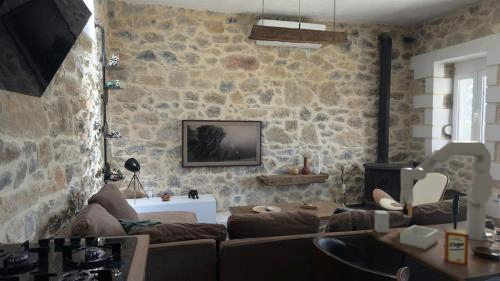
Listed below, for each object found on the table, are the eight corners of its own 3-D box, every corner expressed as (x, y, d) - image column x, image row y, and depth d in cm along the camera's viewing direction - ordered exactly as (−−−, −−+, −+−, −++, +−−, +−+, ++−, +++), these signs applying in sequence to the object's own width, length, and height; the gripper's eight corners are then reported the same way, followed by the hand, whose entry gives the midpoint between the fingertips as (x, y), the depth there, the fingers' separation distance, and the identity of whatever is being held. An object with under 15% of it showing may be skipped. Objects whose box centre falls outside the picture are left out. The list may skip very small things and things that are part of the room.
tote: (414, 236, 216) (414, 225, 216) (438, 241, 206) (438, 230, 205) (400, 243, 202) (400, 231, 202) (425, 249, 192) (425, 237, 192)
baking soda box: (465, 260, 177) (465, 230, 176) (467, 265, 171) (468, 233, 170) (444, 257, 180) (444, 228, 180) (445, 262, 174) (446, 231, 174)
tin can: (412, 216, 228) (412, 201, 227) (409, 217, 224) (409, 202, 224) (405, 215, 231) (405, 200, 231) (402, 216, 228) (401, 201, 228)
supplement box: (385, 229, 230) (386, 210, 229) (389, 232, 222) (389, 213, 222) (374, 229, 231) (374, 210, 230) (377, 232, 223) (377, 213, 223)
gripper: (406, 184, 236) (407, 210, 236) (395, 187, 224) (396, 215, 225) (418, 185, 230) (418, 212, 231) (407, 188, 219) (407, 217, 219)
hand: (407, 213), depth 228 cm, fingers closed on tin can, 5 cm apart
